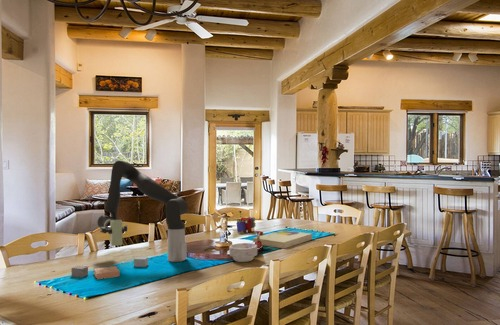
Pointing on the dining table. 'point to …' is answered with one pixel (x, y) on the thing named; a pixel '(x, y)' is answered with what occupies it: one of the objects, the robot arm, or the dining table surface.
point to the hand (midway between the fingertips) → (117, 231)
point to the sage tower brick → (116, 232)
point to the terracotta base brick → (106, 272)
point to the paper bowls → (243, 251)
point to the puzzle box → (284, 239)
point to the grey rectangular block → (79, 271)
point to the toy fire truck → (259, 239)
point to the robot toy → (245, 224)
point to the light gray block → (141, 261)
